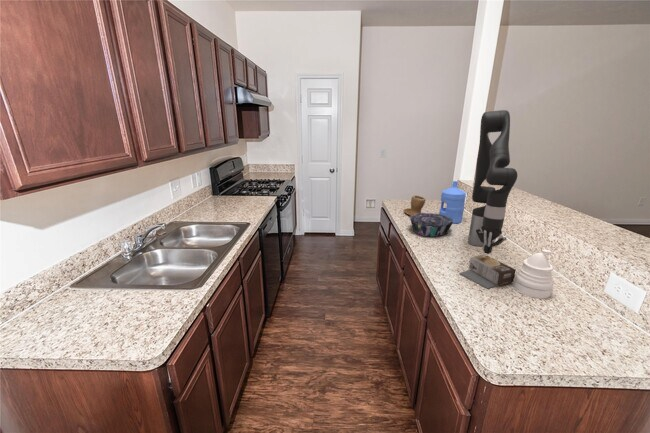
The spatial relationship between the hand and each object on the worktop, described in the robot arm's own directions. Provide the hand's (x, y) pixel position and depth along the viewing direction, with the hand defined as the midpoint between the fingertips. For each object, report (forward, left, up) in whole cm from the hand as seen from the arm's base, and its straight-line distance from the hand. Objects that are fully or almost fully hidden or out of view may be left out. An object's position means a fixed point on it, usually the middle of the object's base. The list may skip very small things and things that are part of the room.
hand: (487, 253), depth 123 cm
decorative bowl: (-22, -54, -12) cm, 59 cm away
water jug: (-50, -63, -12) cm, 81 cm away
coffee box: (-4, -7, -8) cm, 12 cm away
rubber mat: (0, +1, -12) cm, 12 cm away
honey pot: (-9, +16, -12) cm, 22 cm away
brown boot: (-36, -84, -12) cm, 92 cm away
